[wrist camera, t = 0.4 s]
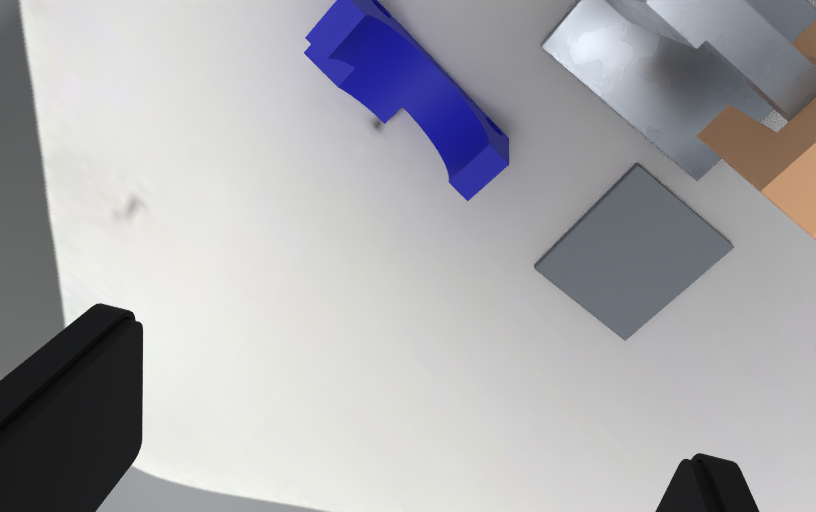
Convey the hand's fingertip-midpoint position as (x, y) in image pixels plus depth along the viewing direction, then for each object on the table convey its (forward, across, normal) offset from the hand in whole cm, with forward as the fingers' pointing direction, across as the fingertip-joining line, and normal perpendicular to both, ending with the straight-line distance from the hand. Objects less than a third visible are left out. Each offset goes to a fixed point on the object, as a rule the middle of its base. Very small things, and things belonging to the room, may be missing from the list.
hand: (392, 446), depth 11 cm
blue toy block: (+31, +4, 0) cm, 31 cm away
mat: (+30, -12, +7) cm, 33 cm away
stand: (+31, -10, -6) cm, 33 cm away
